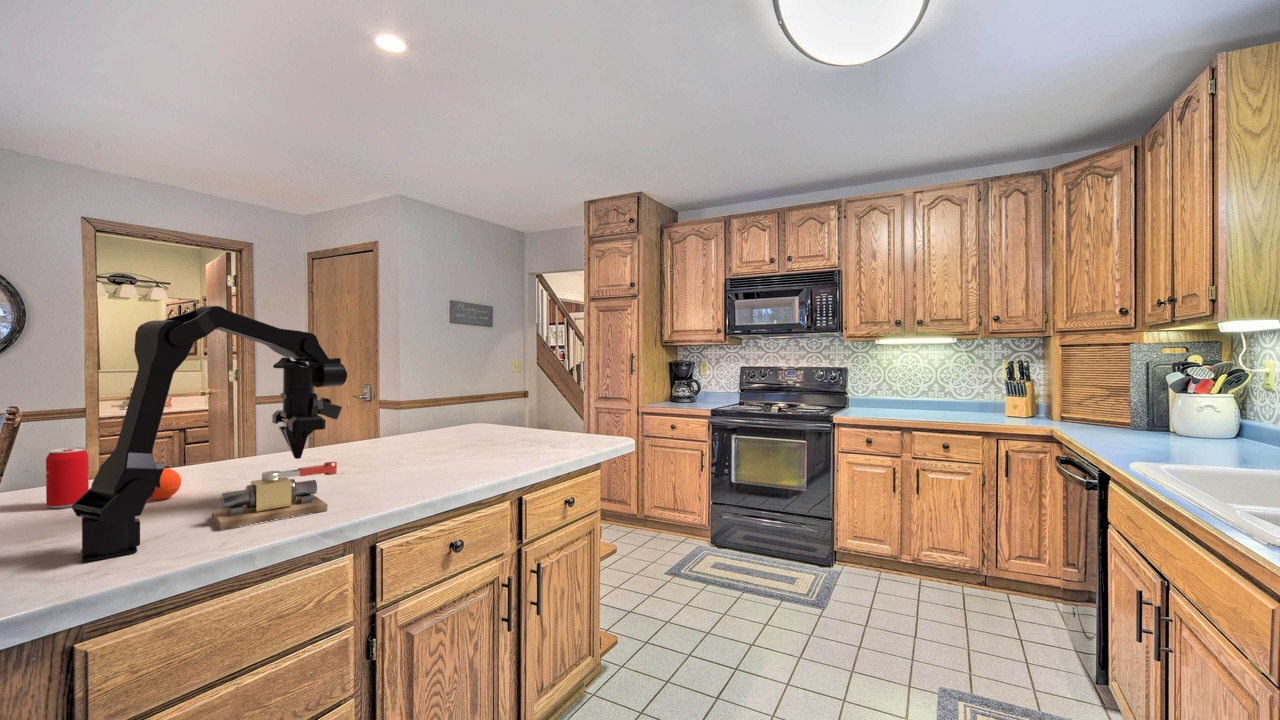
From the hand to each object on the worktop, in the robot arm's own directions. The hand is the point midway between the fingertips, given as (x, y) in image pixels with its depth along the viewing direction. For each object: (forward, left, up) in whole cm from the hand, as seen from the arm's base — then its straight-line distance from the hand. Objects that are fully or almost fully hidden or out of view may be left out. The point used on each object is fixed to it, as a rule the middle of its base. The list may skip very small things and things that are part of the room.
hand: (297, 458), depth 120 cm
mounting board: (-6, -7, -10) cm, 14 cm away
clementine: (-21, +22, -10) cm, 32 cm away
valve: (-6, -7, -8) cm, 13 cm away
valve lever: (-1, -7, -3) cm, 8 cm away
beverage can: (-35, +29, -10) cm, 47 cm away
